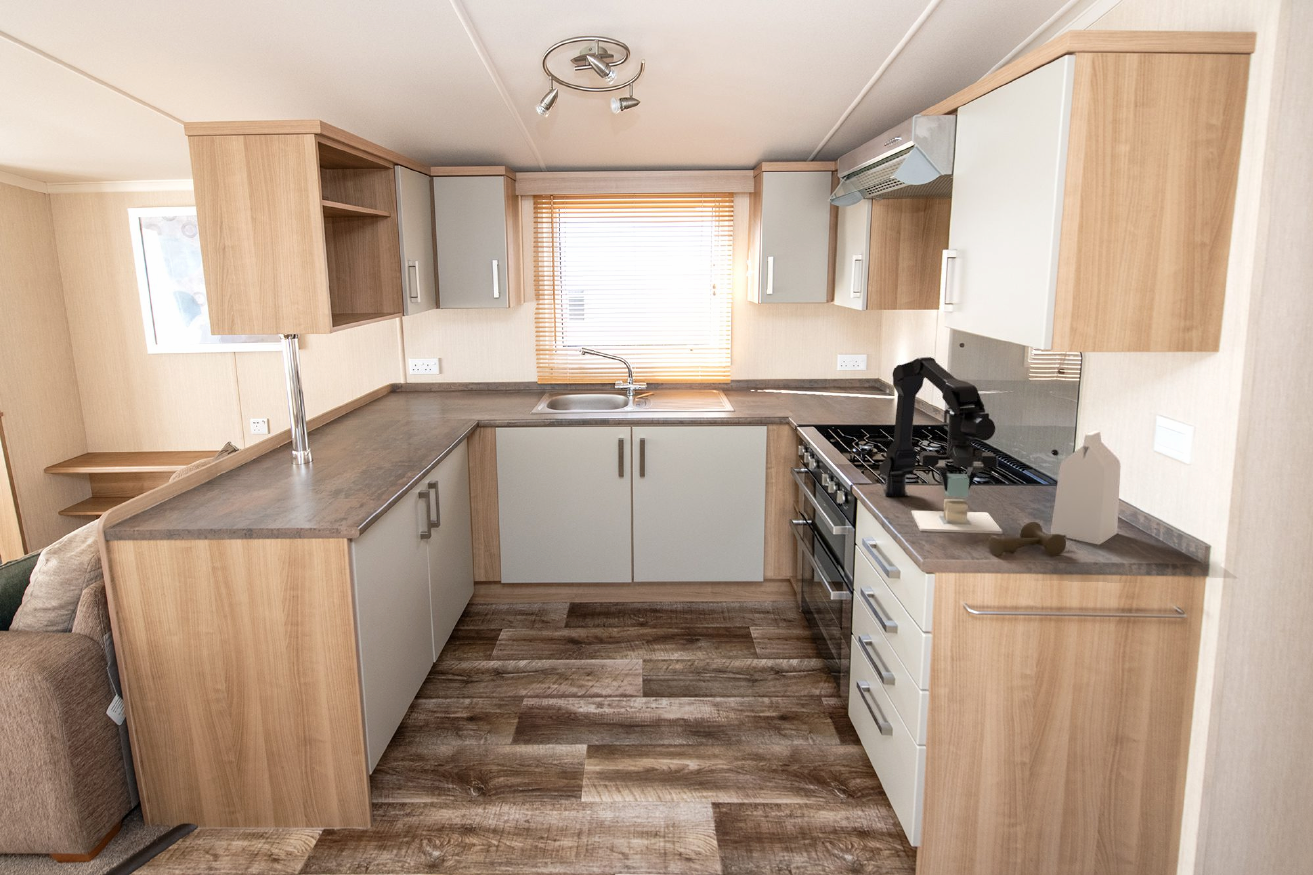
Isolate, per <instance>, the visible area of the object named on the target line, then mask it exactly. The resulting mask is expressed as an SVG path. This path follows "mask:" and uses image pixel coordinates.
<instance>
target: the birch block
mask: <svg viewBox="0 0 1313 875" xmlns="http://www.w3.org/2000/svg"><path fill="white" fill-rule="evenodd" d="M943 500H944V501H943V511H944V513H943V517H944V519H945V520H946V522H947V523H967V512H968V511H969V510H968V509H969V508H968V506H969V505H968V503H967V502H966V500H965V498H964V499H961V498H960V499H957V498H952V499H951V498H950V499H949V498H945V499H943Z"/></svg>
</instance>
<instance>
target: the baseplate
mask: <svg viewBox="0 0 1313 875" xmlns="http://www.w3.org/2000/svg"><path fill="white" fill-rule="evenodd" d="M943 513H944V510H943V511H941V510H940V511H938V510H932V511H931V510H911V515H912V517H913V520H914V521H915V524H916V525H917V527H918V529H919V531H920V532H935V533H936V532H938V533H939V532H940V533H969V534H972V533H973V534H999V535H1000V534H1003V530H1002V529H1001V527H999V525H998V523H996V521H995V520H994V519H993V517H992V516H991V515H990V514H989V512H982V511H981V512H978V511H977V512H976V511H967V523H947V522H946V520H945V519H944V517H943Z"/></svg>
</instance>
